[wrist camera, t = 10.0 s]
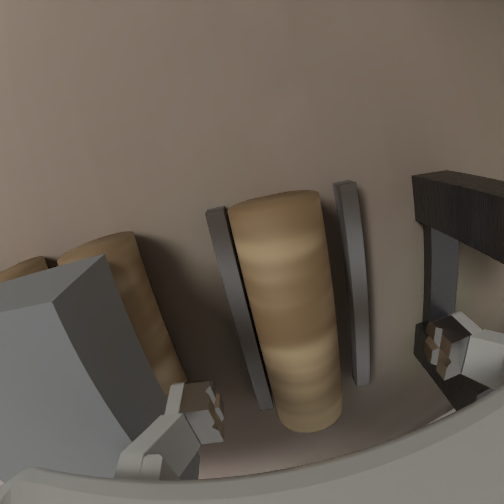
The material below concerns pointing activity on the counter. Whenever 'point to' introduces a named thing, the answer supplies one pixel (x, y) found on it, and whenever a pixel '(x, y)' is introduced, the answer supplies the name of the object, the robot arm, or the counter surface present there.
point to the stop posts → (454, 254)
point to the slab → (72, 374)
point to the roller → (292, 304)
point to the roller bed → (151, 322)
